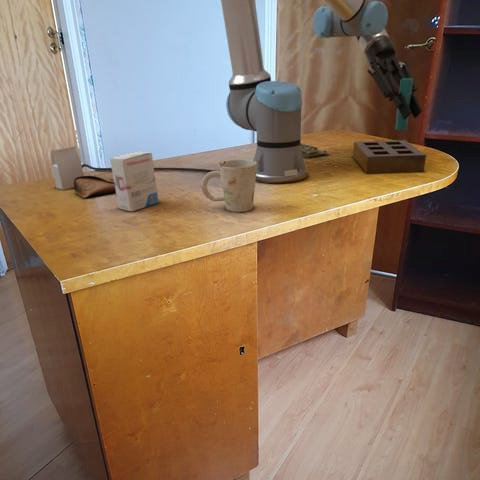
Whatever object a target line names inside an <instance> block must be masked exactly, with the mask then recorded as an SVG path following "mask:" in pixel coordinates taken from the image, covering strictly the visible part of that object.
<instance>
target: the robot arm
mask: <svg viewBox="0 0 480 480" xmlns="http://www.w3.org/2000/svg"><path fill="white" fill-rule="evenodd" d="M321 1H322V2H323V4H325V6H320V7H319V8H318V9H316V11H315V13H314V17H313V21H312V22H313V25H312V26H313V32H314V34H315V35H316V36H317V38H321V39H329V38H346V37H355V38H356V40H357V41H358V43H359V45H360V48H361V49H362V51H363V53H364V55H365V57H366V59H367V61H368V63H369V65H370V66H369V68H368V69H367V73H368V74H369V75H370V76H371V77H372V78H373V80H374V82H375V83H376V85H377V87H378V89H379V91H380V93H381V94H382V96H383V98H385V99H388V101H389V102H393V104H394V105H395V107H396V108H398V109H399V111H400V113H401V115H402V117H403V119H407V117H408V118H409V117H410V115H412V117H413V118H414V119H417V118H418V117H419V115H421V114H422V112H423V110H422V107H421V106H420V103H419V100H418V98H417V96H416V94H415V93H416V92H417V90H418V89H419V87H418V85H417V83H416V80H415V78H414V76H413V74H412V71H411V70H410V66H409V62H408V61H407V60H404V62H403V61H400V59H399V58H398V57H397V56H396V47H395V45H394V43H393V42H392V39H391V38H390V36H389V34H388V32H387V30H386V25H387V23H388V18H389V11H388V8H387V6H386V5H385V3H384V2H382V1H379V0H321ZM220 3H221V9H222V17H223V22H224V29H225V35H226V40H227V47H228V53H229V59H230V65H231V66H230V67H231V71H232V76H231V77H230V79H229V81H228V88H229V93H228V96H227V97H226V103H225V105H226V106H225V107H226V112H227V115H228V117H229V119H230V120H231V122H233V124H235V125H236V126H238V127H240V128H241V129H243V130H246V131H252V132H256V150H255V154H254V157H253V161H256V162H257V170H256V180H255V182H258V183H264V184H265V183H266V184H288V183H295V182H298V181H302V180H304V179H306V178H307V171H308V170H307V165H306V163H305V157H303V155H302V151H301V147H300V143H301V135H302V106H303V97H302V90H301V87H300V86H299V85H298V84H295V83H292V82H289V81H280V80H272V78H271V77H272V76H271V73H269V72H268V71H267V70H266V69H265V68H264V60H263V52H262V44H261V35H260V28H259V20H258V12H257V4H256V0H220ZM404 78H412V79H413V83H412V92H411V100H410V108H409V106H408V104H407V102H406V100H405V98H404V96H403V94H402V93H399V89H400V81H401V79H404ZM398 88H399V89H398ZM84 167H85V168H88V169H90V170H93V171H104V172H105V171H106V172H107V171H110V172H112V167H94V166H91V165H89V164H87V163H83V164H82V169H83V168H84ZM154 171H189V172H202V173H209V172H213V171H217V170H215V169H206V168H194V167H193V168H192V167H154Z"/></svg>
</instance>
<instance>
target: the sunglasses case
mask: <svg viewBox="0 0 480 480" xmlns="http://www.w3.org/2000/svg"><path fill="white" fill-rule="evenodd" d="M73 188H74V192H75V194H77V196H79V197H81V198H83V199H84V198H85V199H86V198H91V197H94V196H100V195H109V194H113V193H114V194H116V189H115V183H114V178H113V173H112V171H110V172H105V173H99V174H93V175H92V174H91V175H90V174H89V175H84V176H81V177H77V178H76V179H75V180H74V187H73Z"/></svg>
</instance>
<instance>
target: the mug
mask: <svg viewBox="0 0 480 480" xmlns="http://www.w3.org/2000/svg"><path fill="white" fill-rule="evenodd" d="M256 170H257V162H256V161H254V159H253V160H252V159H247V158H246V159H243V158H240V159H239V158H237V159H228V160H227V159H226V160H223V161H220V162H219V164H218V170H216V171H213V172H206V174H205V175H204V176H203V178H202V180H201V183H200V185H201V192H202V193H203V195H204V196H205V197H206V198H207V199H209V200H210V201H212V202H223V201H224V203H225V209H226V210H227V211H229V212H232V213H244V212H245V213H246V212H248V211H251V210H252V209H253V207H254V201H255V199H254V198H255V191H256V190H255V188H256ZM212 178H220V182H221V188H222V193H223V196H219V197H215V196H213V195H212V194H211V192H209V190H208V183H209V181H210V180H211V179H212Z"/></svg>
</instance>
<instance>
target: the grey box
mask: <svg viewBox="0 0 480 480" xmlns="http://www.w3.org/2000/svg"><path fill="white" fill-rule="evenodd" d="M50 157H51V169H52V174H53V178H54V179H53V180H54V184H55V187H56V189H58V190H62V191H65V190H70V189H73V188H74V180H75V179H76V178H77V177H81V176H85V175H84V169H83V168H82V165H83V164H82V160H81V159H80V156H79V153H78V151H77V149H76V146H75V145H73V146H68V147H62V148H57V149H51V150H50Z"/></svg>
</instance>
